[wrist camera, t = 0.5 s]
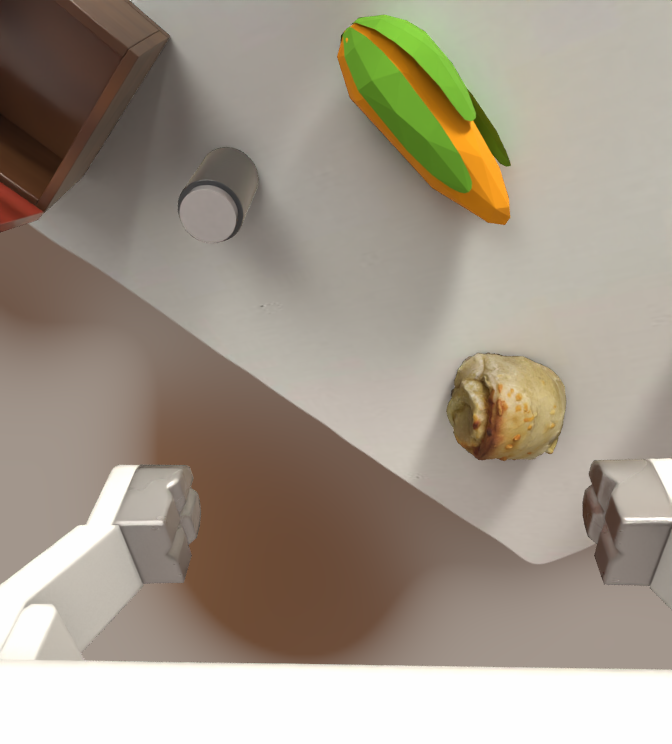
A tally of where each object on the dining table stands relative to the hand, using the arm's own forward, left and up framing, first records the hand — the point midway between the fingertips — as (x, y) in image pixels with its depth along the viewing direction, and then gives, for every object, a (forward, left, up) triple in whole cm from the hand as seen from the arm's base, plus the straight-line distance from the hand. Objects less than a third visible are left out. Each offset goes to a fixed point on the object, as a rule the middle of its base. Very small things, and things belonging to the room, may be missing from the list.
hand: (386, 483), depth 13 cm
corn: (+5, +4, -46) cm, 46 cm away
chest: (-2, -27, -46) cm, 53 cm away
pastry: (+35, +12, -46) cm, 59 cm away
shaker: (+9, -14, -46) cm, 49 cm away
